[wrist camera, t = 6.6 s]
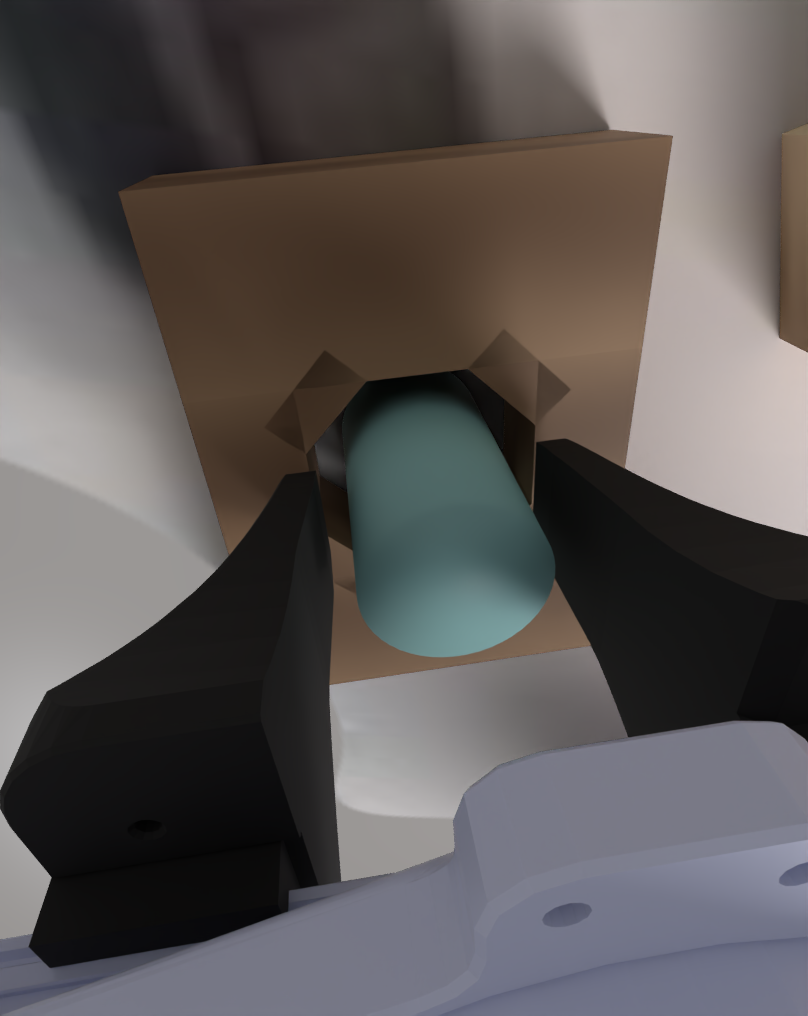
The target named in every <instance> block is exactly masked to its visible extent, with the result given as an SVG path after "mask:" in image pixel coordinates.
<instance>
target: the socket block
mask: <svg viewBox="0 0 808 1016" xmlns="http://www.w3.org/2000/svg"><path fill="white" fill-rule="evenodd" d="M672 138H673V136H670V135H659V134H649V133H639V132H629V131H619V130H605V131H595V132H585V133H575V134H565V135H555V136H545V137H535V138H525V139H515V140H505V141H495V142H485V143H475V144H465V145H455V146H445V147H435V148H425V149H415V150H405V151H395V152H385V153H375V154H364V155H354V156H344V157H334V158H324V159H314V160H304V161H294V162H284V163H274V164H264V165H254V166H244V167H234V168H224V169H214V170H204V171H194V172H184V173H174V174H164V175H154V176H151V177H149V178H147V179H145V180H142V181H140V182H138V183H136V184H134V185H132V186H130V187H127V188H125V189H123V190H121V191H119V192H118V193H119V196H120V199H121V203H122V206H123V209H124V213H125V216H126V219H127V222H128V226H129V229H130V232H131V235H132V239H133V242H134V245H135V249H136V252H137V255H138V258H139V262H140V265H141V268H142V272H143V275H144V278H145V281H146V285H147V288H148V291H149V295H150V298H151V301H152V304H153V308H154V311H155V314H156V317H157V321H158V324H159V327H160V331H161V334H162V337H163V340H164V344H165V347H166V350H167V354H168V357H169V360H170V363H171V367H172V370H173V373H174V377H175V380H176V383H177V386H178V390H179V393H180V396H181V399H182V403H183V406H184V409H185V413H186V416H187V419H188V422H189V426H190V429H191V432H192V436H193V439H194V442H195V445H196V449H197V452H198V455H199V458H200V462H201V465H202V468H203V472H204V475H205V478H206V481H207V485H208V488H209V491H210V495H211V498H212V501H213V504H214V508H215V511H216V514H217V518H218V521H219V524H220V527H221V531H222V534H223V537H224V540H225V544H226V547H227V550H228V554H229V555H230V554H231V552H232V551H233V550H234V549H235V547H236V546H237V545H238V544H239V542H240V541H241V540H242V539H243V537H244V536H245V535H246V533H247V532H248V531H249V529H250V528H251V526H252V525H253V523H254V522H255V521H256V519H257V518H258V516H259V515H260V513H261V512H262V510H263V509H264V507H265V506H266V504H267V503H268V501H269V499H270V498H271V496H272V495H273V493H274V491H275V490H276V488H277V486H278V484H279V483H280V481H281V480H282V478H283V477H284V476H285V475H286V474H293V473H301V472H308V471H316V473H317V479H318V484H319V490H320V495H321V500H322V506H323V511H324V517H325V522H326V528H327V533H328V538H329V544H330V549H331V559H332V572H333V585H334V603H333V624H332V644H331V663H330V683H329V685H332V684H339V683H345V682H352V681H359V680H365V679H372V678H379V677H385V676H392V675H399V674H405V673H412V672H419V671H425V670H432V669H439V668H445V667H452V666H459V665H465V664H472V663H479V662H485V661H492V660H499V659H505V658H512V657H519V656H525V655H532V654H539V653H545V652H552V651H559V650H565V649H572V648H579V647H585V646H591V644H590V642H589V641H588V639H587V637H586V635H585V633H584V631H583V630H582V628H581V626H580V624H579V622H578V620H577V619H576V617H575V615H574V613H573V611H572V609H571V608H570V606H569V604H568V602H567V600H566V598H565V597H564V595H563V593H562V591H561V589H560V587H559V585H558V583H557V582H556V580H555V578H554V582H553V587H552V589H551V592H550V595H549V597H548V599H547V600H546V602H545V604H544V606H543V607H542V609H541V610H540V611H539V613H538V614H537V615H536V616H535V617H534V618H533V619H532V621H531V622H530V623H528V624H527V625H526V626H525V627H524V628H523V629H522V630H520V631H519V632H517V633H516V634H515V635H513V636H512V637H510V638H508V639H507V640H505V641H503V642H501V643H499V644H497V645H495V646H493V647H490V648H488V649H485V650H482V651H479V652H475V653H471V654H467V655H461V656H454V657H428V656H420V655H415V654H411V653H408V652H405V651H402V650H399V649H397V648H395V647H393V646H391V645H389V644H387V643H386V642H384V641H383V640H381V639H380V638H379V637H378V636H377V635H375V634H374V633H373V632H372V630H371V629H370V628H369V627H368V626H367V624H366V622H365V621H364V619H363V617H362V615H361V612H360V610H359V607H358V602H357V594H356V583H355V571H354V560H353V549H352V537H351V526H350V515H349V503H348V493H347V492H345V491H344V490H342V489H341V488H339V487H338V486H336V485H334V484H333V483H331V482H330V481H328V480H326V479H325V478H323V477H322V476H320V473H319V468H318V462H317V457H316V451H315V446H314V444H315V443H316V442H317V440H318V439H319V438H320V437H321V436H322V434H323V433H324V432H325V431H326V430H327V428H328V427H329V426H330V425H331V424H332V422H333V421H334V420H335V419H336V418H337V416H338V415H339V414H340V413H341V412H342V410H343V409H344V408H345V407H346V405H347V404H348V403H349V402H350V401H351V399H352V398H353V397H354V396H355V395H356V393H357V392H358V391H359V390H360V389H361V387H362V386H363V385H364V384H365V383H366V381H373V380H381V379H389V378H398V377H406V376H414V375H422V374H430V373H439V372H447V371H455V370H463V369H469V370H470V371H471V372H472V373H473V374H475V375H476V376H477V377H478V378H479V379H481V380H482V381H483V382H484V383H485V384H487V385H488V386H489V387H490V388H491V389H493V390H494V391H495V392H496V393H497V394H499V395H500V396H501V397H502V398H504V447H503V452H502V454H503V456H504V458H505V460H506V462H507V464H508V466H509V468H510V470H511V472H512V473H513V475H514V477H515V479H516V481H517V483H518V485H519V487H520V489H521V491H522V492H523V494H524V496H525V498H526V500H527V502H528V504H529V506H530V508H531V510H532V511H533V499H534V479H535V459H536V442H540V441H548V440H556V439H563V438H566V439H569V440H571V441H573V442H575V443H578V444H579V445H581V446H583V447H585V448H587V449H589V450H591V451H593V452H595V453H597V454H598V455H600V456H602V457H604V458H606V459H608V460H610V461H611V462H613V463H615V464H617V465H619V466H621V467H623V468H625V462H626V455H627V449H628V442H629V435H630V428H631V421H632V414H633V407H634V400H635V393H636V386H637V380H638V373H639V366H640V359H641V352H642V345H643V338H644V331H645V324H646V317H647V311H648V304H649V297H650V290H651V283H652V276H653V269H654V262H655V255H656V249H657V242H658V235H659V228H660V221H661V214H662V207H663V200H664V193H665V186H666V180H667V173H668V166H669V159H670V152H671V145H672Z"/></svg>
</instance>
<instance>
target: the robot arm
mask: <svg viewBox="0 0 808 1016" xmlns="http://www.w3.org/2000/svg"><path fill="white" fill-rule="evenodd" d="M533 513H534V515H535V517H536V519H537V521H538V523H539V525H540V527H541V529H542V530H543V532H544V534H545V536H546V538H547V540H548V542H549V544H550V546H551V548H552V551H553V555H554V560H555V580H556V582H557V583H558V585H559V587H560V589H561V591H562V593H563V595H564V597H565V598H566V600H567V602H568V604H569V606H570V608H571V609H572V611H573V613H574V615H575V617H576V619H577V620H578V622H579V624H580V626H581V628H582V630H583V631H584V633H585V635H586V637H587V639H588V641H589V642H590V644H591V646H592V648H593V651H594V653H595V655H596V657H597V659H598V661H599V663H600V666H601V668H602V670H603V673H604V675H605V678H606V680H607V683H608V685H609V688H610V690H611V693H612V695H613V698H614V700H615V703H616V705H617V708H618V711H619V713H620V716H621V719H622V721H623V724H624V727H625V729H626V732H627V734H628V737H629V738H623V739H617V740H611V741H604V742H598V743H592V744H586V745H579V746H573V747H567V748H560V749H554V750H548V751H542V752H538V753H535V754H532V755H528V756H525V757H522V758H519V759H516V760H513V761H510V762H507V763H503V764H500V765H498V766H497V767H496V768H494V769H493V770H492V771H490V772H489V773H488V774H486V775H485V776H484V777H482V778H481V779H480V780H478V781H477V782H476V783H474V784H473V785H472V786H470V787H469V788H468V790H467V791H466V792H465V793H464V795H463V797H462V800H461V802H460V805H459V807H458V810H457V812H456V815H455V817H454V820H453V826H454V842H455V848H454V852H451V853H449V854H446V855H443V856H440V857H438V858H435V859H432V860H429V861H427V862H424V863H421V864H419V865H415V866H413V867H410V868H407V869H404V870H402V871H399V872H396V873H390V874H384V875H378V876H372V877H367V878H361V879H355V880H349V881H343V882H341V873H340V861H339V847H338V833H337V819H336V805H335V790H334V774H333V758H332V742H331V723H330V705H329V683H330V663H331V644H332V624H333V603H334V585H333V572H332V559H331V549H330V544H329V538H328V533H327V528H326V522H325V517H324V511H323V506H322V500H321V495H320V490H319V484H318V479H317V473H316V471H308V472H301V473H293V474H286V475H285V476H284V477H283V478H282V480H281V481H280V483H279V484H278V486H277V488H276V490H275V491H274V493H273V495H272V496H271V498H270V499H269V501H268V503H267V504H266V506H265V507H264V509H263V510H262V512H261V513H260V515H259V516H258V518H257V519H256V521H255V522H254V523H253V525H252V526H251V528H250V529H249V531H248V532H247V533H246V535H245V536H244V537H243V539H242V540H241V541H240V542H239V544H238V545H237V546H236V547H235V549H234V550H233V551H232V552H231V554H230V555H229V556H228V557H227V559H226V560H225V561H224V562H223V563H222V564H221V566H220V567H219V568H218V569H217V570H216V571H215V572H214V573H213V574H212V575H211V576H210V577H209V578H208V579H207V580H206V581H205V582H204V583H203V584H202V585H201V586H200V587H199V588H198V589H197V590H196V591H195V592H193V593H192V594H191V595H190V596H189V597H188V598H186V599H185V600H184V601H183V602H182V603H180V604H179V605H178V606H177V607H176V608H174V609H173V610H172V611H171V612H170V613H168V614H167V615H166V616H165V617H164V618H162V619H161V620H160V621H159V622H157V623H156V624H155V625H153V626H152V627H151V628H149V629H148V630H146V631H145V632H144V633H142V634H141V635H140V636H138V637H137V638H135V639H134V640H132V641H131V642H129V643H128V644H126V645H125V646H123V647H122V648H120V649H119V650H117V651H116V652H114V653H113V654H111V655H110V656H108V657H106V658H105V659H103V660H102V661H100V662H98V663H96V664H95V665H93V666H91V667H89V668H88V669H86V670H84V671H82V672H81V673H79V674H77V675H76V676H74V677H72V678H71V679H69V680H67V681H66V682H63V683H62V684H60V685H58V686H56V687H54V688H52V689H51V690H49V691H47V692H46V694H45V696H44V698H43V700H42V702H41V703H40V705H39V707H38V709H37V711H36V713H35V714H34V716H33V718H32V720H31V722H30V725H29V727H28V729H27V732H26V734H25V736H24V738H23V740H22V743H21V745H20V747H19V749H18V752H17V754H16V756H15V758H14V761H13V763H12V765H11V767H10V770H9V772H8V774H7V776H6V779H5V781H4V783H3V785H2V787H1V790H0V809H1V811H2V813H3V815H4V817H5V818H6V820H7V822H8V824H9V826H10V827H11V828H12V830H13V831H14V832H15V833H16V834H17V836H18V837H19V838H20V839H21V841H22V842H23V843H24V844H25V845H26V847H27V848H28V849H29V850H30V851H31V853H32V854H33V855H34V856H35V857H36V859H37V860H38V861H39V862H40V864H41V865H42V866H43V867H44V868H45V870H46V871H47V872H48V873H49V875H50V876H51V877H52V878H51V881H50V884H49V887H48V890H47V893H46V896H45V899H44V902H43V905H42V908H41V911H40V914H39V917H38V920H37V923H36V926H35V929H34V932H33V934H30V935H24V936H18V937H12V938H6V939H0V1016H808V536H804V535H800V534H796V533H792V532H788V531H784V530H781V529H777V528H773V527H770V526H766V525H762V524H759V523H755V522H752V521H749V520H746V519H742V518H739V517H736V516H733V515H730V514H727V513H725V512H722V511H719V510H716V509H714V508H711V507H708V506H705V505H703V504H700V503H697V502H695V501H692V500H690V499H688V498H685V497H683V496H681V495H678V494H676V493H674V492H672V491H670V490H667V489H665V488H663V487H661V486H658V485H656V484H654V483H652V482H650V481H648V480H646V479H644V478H642V477H640V476H638V475H636V474H634V473H632V472H630V471H628V470H626V469H625V468H623V467H621V466H619V465H617V464H615V463H613V462H611V461H610V460H608V459H606V458H604V457H602V456H600V455H598V454H597V453H595V452H593V451H591V450H589V449H587V448H585V447H583V446H581V445H579V444H578V443H575V442H573V441H571V440H569V439H566V438H563V439H556V440H548V441H540V442H536V459H535V479H534V499H533Z"/></svg>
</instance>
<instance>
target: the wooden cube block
mask: <svg viewBox="0 0 808 1016" xmlns="http://www.w3.org/2000/svg"><path fill="white" fill-rule="evenodd" d="M780 339H782V340H784V341H786V342H788V343H790V344H792V345H794V346H796V347H798V348H800V349H802V350H804V351H806V352H808V124H805V125H803V126H800V127H798V128H795V129H793V130H790V131H788V132H785V133H783V134H782V169H781V253H780Z"/></svg>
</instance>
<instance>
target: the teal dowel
mask: <svg viewBox="0 0 808 1016" xmlns="http://www.w3.org/2000/svg"><path fill="white" fill-rule="evenodd" d="M342 435H343V446H344V458H345V469H346V480H347V492H348V503H349V515H350V526H351V537H352V549H353V560H354V571H355V583H356V594H357V602H358V607H359V610H360V612H361V615H362V617H363V619H364V621H365V622H366V624H367V626H368V627H369V628H370V629H371V630H372V632H373V633H374V634H375V635H377V636H378V637H379V638H380V639H381V640H383V641H384V642H386V643H387V644H389V645H391V646H393V647H395V648H397V649H399V650H402V651H405V652H408V653H411V654H415V655H420V656H428V657H454V656H461V655H467V654H471V653H475V652H479V651H482V650H485V649H488V648H490V647H493V646H495V645H497V644H499V643H501V642H503V641H505V640H507V639H508V638H510V637H512V636H513V635H515V634H516V633H517V632H519V631H520V630H522V629H523V628H524V627H525V626H526V625H527V624H528V623H530V622H531V621H532V619H533V618H534V617H535V616H536V615H537V614H538V613H539V611H540V610H541V609H542V607H543V606H544V604H545V602H546V600H547V599H548V597H549V595H550V592H551V589H552V587H553V582H554V578H555V560H554V555H553V551H552V548H551V546H550V544H549V542H548V540H547V538H546V536H545V534H544V532H543V530H542V529H541V527H540V525H539V523H538V521H537V519H536V517H535V515H534V513H533V511H532V510H531V508H530V506H529V504H528V502H527V500H526V498H525V496H524V494H523V492H522V491H521V489H520V487H519V485H518V483H517V481H516V479H515V477H514V475H513V473H512V472H511V470H510V468H509V466H508V464H507V462H506V460H505V458H504V456H503V454H502V453H501V451H500V449H499V447H498V445H497V443H496V441H495V439H494V437H493V435H492V434H491V432H490V430H489V428H488V426H487V424H486V422H485V420H484V418H483V416H482V415H481V413H480V411H479V409H478V407H477V405H476V403H475V401H474V399H473V397H472V396H471V394H470V392H469V390H468V389H467V387H466V386H465V385H464V384H463V383H462V382H461V381H460V380H459V379H458V378H457V377H456V376H455V375H453V374H452V373H450V372H448V371H447V372H439V373H430V374H422V375H414V376H406V377H398V378H389V379H381V380H373V381H366V383H365V384H364V385H363V386H362V387H361V389H360V390H359V391H358V392H357V393H356V395H355V396H354V397H353V398H352V399H351V401H350V402H349V403H348V404H347V407H346V409H345V412H344V416H343V423H342Z"/></svg>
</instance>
